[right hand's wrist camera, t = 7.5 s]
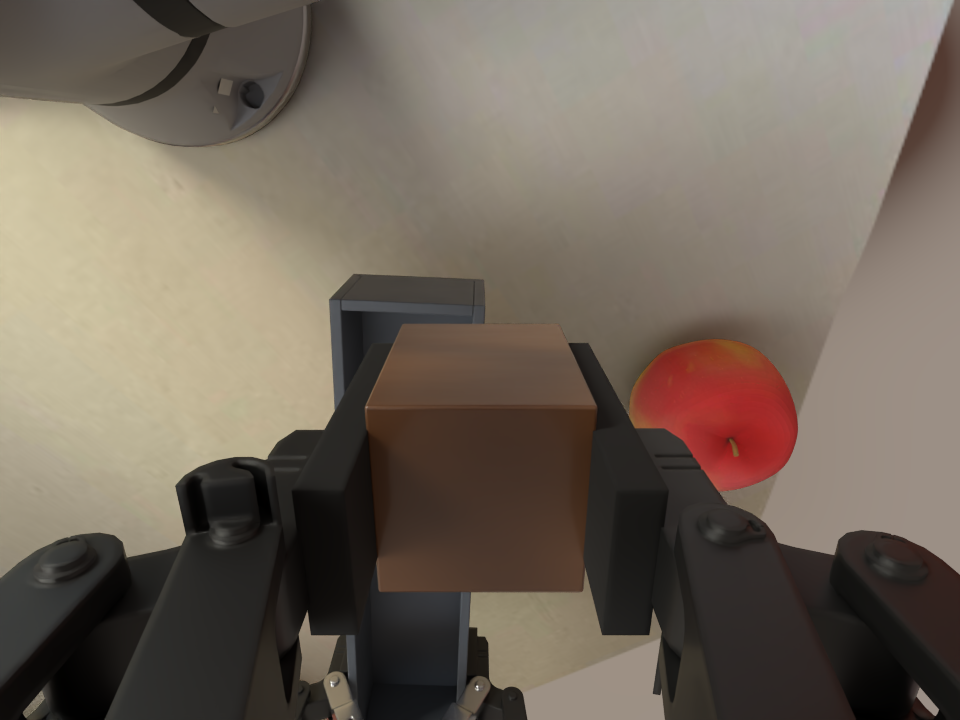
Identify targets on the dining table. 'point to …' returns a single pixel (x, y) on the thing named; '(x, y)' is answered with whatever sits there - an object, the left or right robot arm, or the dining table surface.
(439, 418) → the walnut block
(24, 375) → the dining table surface
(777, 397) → the apple
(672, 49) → the dining table surface
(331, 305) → the grey trough
